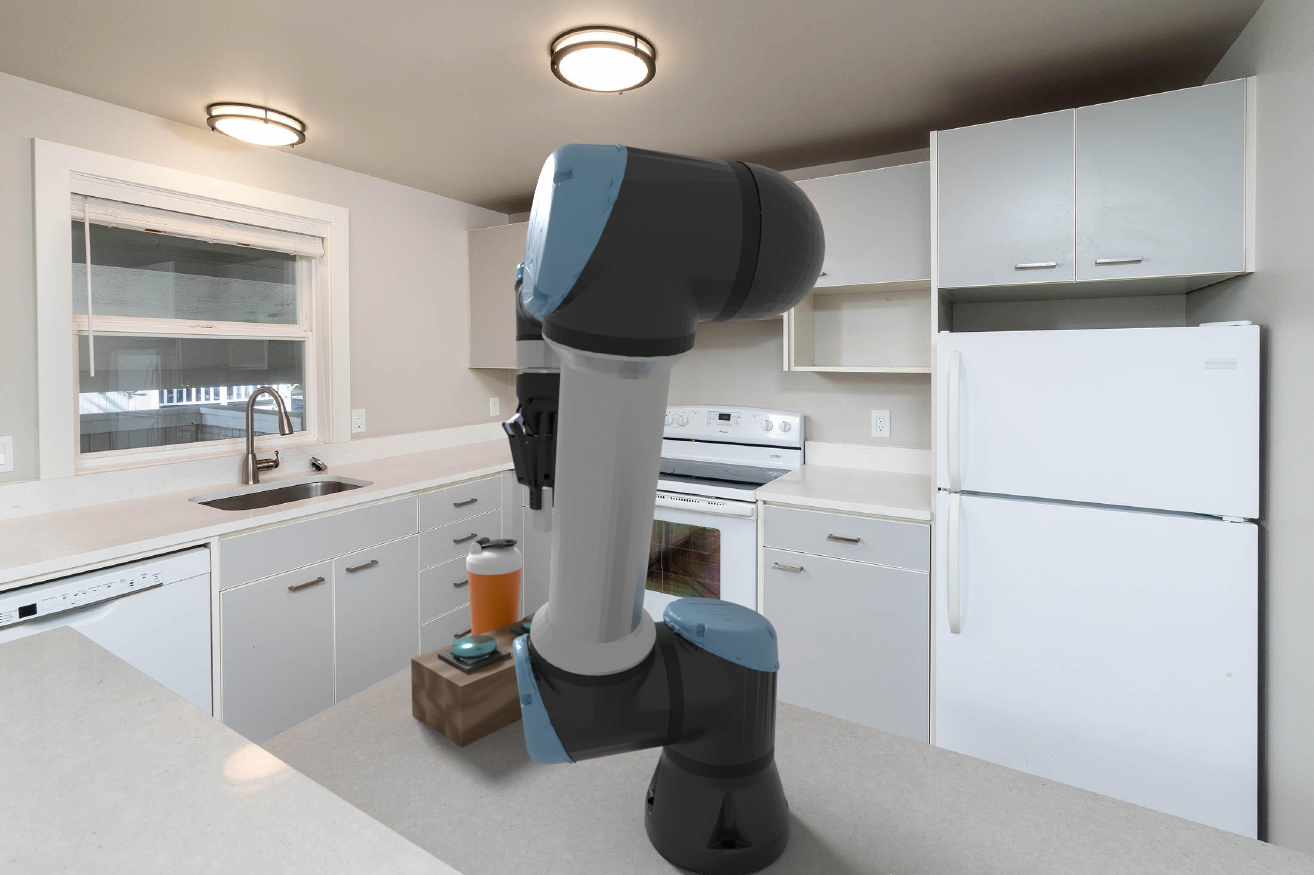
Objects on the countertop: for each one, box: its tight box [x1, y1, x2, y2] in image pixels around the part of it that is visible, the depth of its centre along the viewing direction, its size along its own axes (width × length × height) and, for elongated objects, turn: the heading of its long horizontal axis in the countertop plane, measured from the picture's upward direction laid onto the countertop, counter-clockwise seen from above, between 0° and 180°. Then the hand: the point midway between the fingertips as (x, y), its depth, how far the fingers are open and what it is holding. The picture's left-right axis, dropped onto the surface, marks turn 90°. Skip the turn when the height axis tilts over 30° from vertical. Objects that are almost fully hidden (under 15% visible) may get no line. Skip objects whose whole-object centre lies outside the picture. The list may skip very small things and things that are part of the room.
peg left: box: [450, 634, 497, 664], centre depth 89 cm, size 6×6×9 cm
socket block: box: [410, 619, 530, 748], centre depth 94 cm, size 12×24×9 cm, turn 140°
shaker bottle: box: [465, 536, 524, 636], centre depth 106 cm, size 9×9×20 cm
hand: (542, 530), depth 96 cm, fingers closed
